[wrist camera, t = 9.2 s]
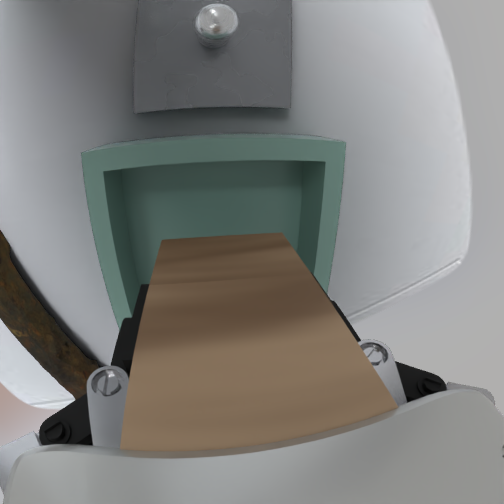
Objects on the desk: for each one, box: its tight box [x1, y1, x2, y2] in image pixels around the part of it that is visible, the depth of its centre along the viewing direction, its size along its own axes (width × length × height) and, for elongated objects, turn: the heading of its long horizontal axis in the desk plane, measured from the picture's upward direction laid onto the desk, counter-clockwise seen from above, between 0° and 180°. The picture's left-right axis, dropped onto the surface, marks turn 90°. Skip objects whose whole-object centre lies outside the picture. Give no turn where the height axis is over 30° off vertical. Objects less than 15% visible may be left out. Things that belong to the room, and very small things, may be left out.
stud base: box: [133, 0, 292, 113], centre depth 10 cm, size 8×8×4 cm
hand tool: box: [0, 231, 99, 400], centre depth 14 cm, size 19×4×5 cm, turn 18°
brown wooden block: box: [120, 232, 399, 451], centre depth 9 cm, size 5×5×9 cm
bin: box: [81, 134, 346, 330], centre depth 15 cm, size 12×12×4 cm
